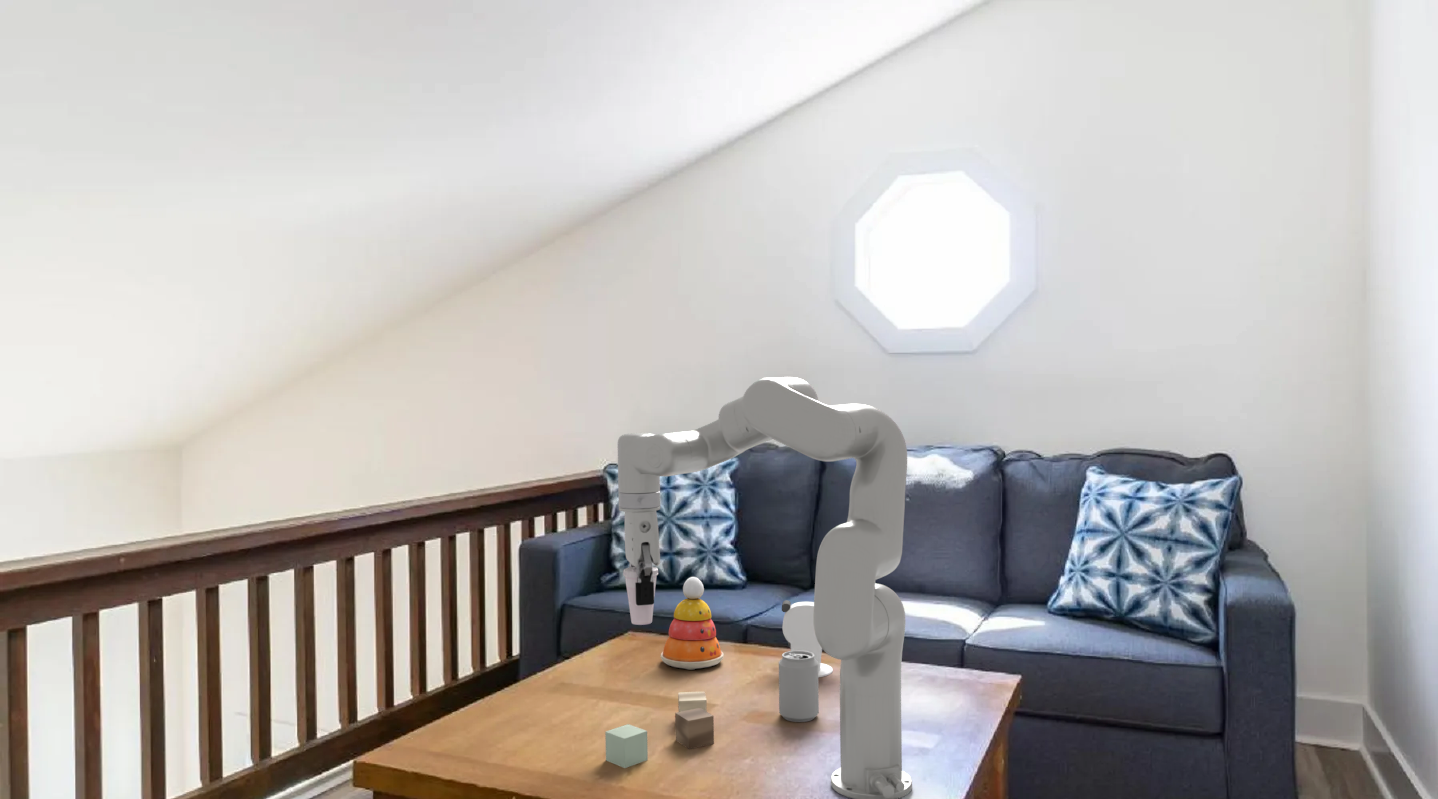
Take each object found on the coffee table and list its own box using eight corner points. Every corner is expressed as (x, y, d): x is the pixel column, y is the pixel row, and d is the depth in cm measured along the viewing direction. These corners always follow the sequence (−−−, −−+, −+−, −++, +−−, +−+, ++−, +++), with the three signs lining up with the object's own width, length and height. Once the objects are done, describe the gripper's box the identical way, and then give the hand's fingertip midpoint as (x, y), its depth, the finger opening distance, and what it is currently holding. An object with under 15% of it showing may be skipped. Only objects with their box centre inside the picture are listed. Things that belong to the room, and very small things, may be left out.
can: (816, 724, 187) (815, 660, 187) (776, 722, 189) (775, 658, 188) (820, 711, 194) (820, 649, 194) (782, 709, 196) (781, 647, 196)
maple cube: (706, 726, 187) (706, 699, 187) (679, 727, 187) (679, 700, 186) (704, 717, 192) (704, 691, 192) (678, 718, 192) (678, 692, 191)
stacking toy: (688, 676, 218) (687, 586, 218) (647, 663, 229) (646, 577, 228) (736, 663, 228) (735, 577, 227) (695, 651, 238) (694, 569, 238)
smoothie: (617, 624, 182) (615, 546, 182) (636, 617, 188) (634, 541, 187) (647, 627, 179) (645, 548, 179) (666, 620, 185) (664, 543, 184)
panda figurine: (835, 663, 227) (834, 596, 226) (836, 678, 215) (835, 608, 215) (781, 662, 228) (780, 596, 228) (779, 677, 217) (778, 607, 216)
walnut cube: (713, 743, 178) (713, 715, 178) (688, 749, 176) (688, 720, 176) (700, 735, 182) (699, 707, 182) (675, 740, 180) (675, 712, 180)
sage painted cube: (647, 760, 171) (647, 730, 171) (624, 768, 167) (624, 738, 167) (628, 752, 174) (628, 724, 174) (605, 760, 171) (605, 731, 171)
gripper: (669, 506, 175) (671, 609, 176) (650, 495, 192) (652, 590, 192) (627, 508, 174) (629, 612, 174) (611, 497, 190) (613, 592, 191)
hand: (641, 599), depth 183 cm, fingers closed on smoothie, 6 cm apart
